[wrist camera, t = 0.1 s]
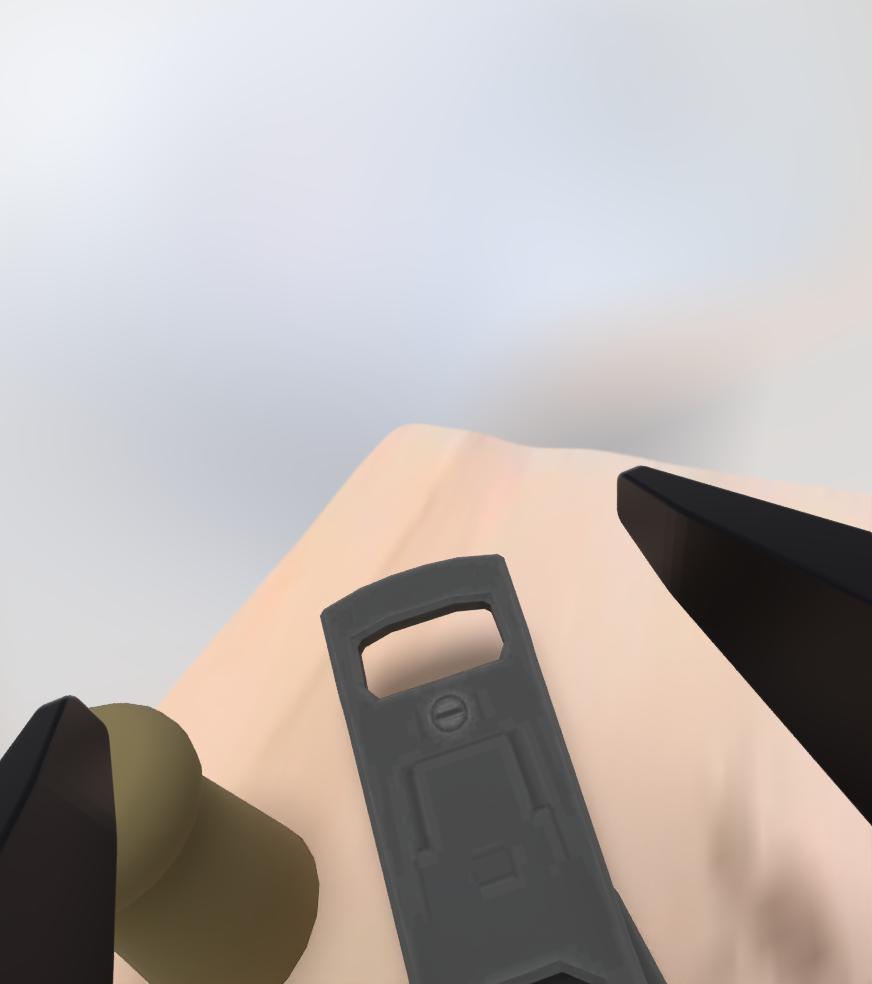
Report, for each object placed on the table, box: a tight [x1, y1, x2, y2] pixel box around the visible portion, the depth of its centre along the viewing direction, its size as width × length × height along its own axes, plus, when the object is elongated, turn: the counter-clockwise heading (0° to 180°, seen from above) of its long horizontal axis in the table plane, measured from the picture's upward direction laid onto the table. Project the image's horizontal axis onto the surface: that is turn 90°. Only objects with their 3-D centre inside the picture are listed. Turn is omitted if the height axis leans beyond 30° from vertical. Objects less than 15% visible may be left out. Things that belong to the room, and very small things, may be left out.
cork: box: [89, 703, 319, 984], centre depth 17 cm, size 6×6×11 cm
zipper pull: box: [320, 554, 667, 984], centre depth 16 cm, size 9×7×25 cm
